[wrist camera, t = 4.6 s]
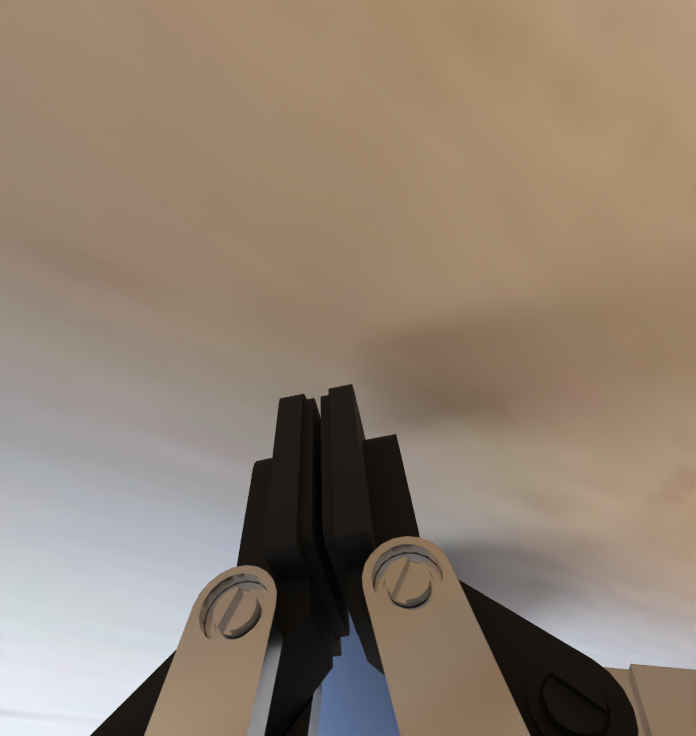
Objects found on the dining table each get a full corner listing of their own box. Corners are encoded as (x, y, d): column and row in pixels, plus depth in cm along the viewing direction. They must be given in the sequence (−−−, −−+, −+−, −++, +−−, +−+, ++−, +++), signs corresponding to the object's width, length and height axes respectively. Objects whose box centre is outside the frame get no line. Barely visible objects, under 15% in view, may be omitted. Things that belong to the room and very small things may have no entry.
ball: (280, 563, 16) (265, 793, 11) (452, 531, 15) (522, 752, 10) (320, 649, 19) (323, 858, 14) (463, 624, 18) (520, 828, 13)
